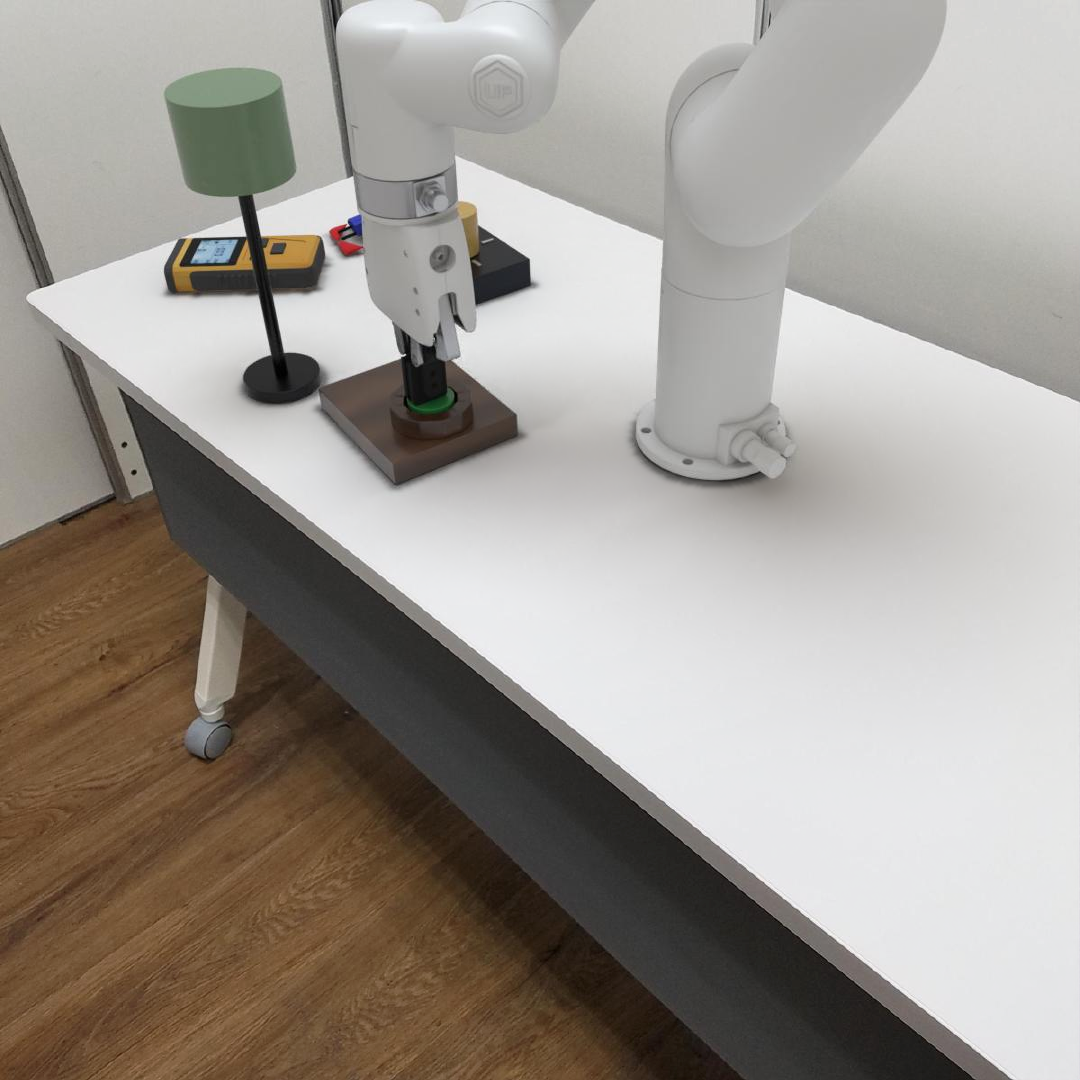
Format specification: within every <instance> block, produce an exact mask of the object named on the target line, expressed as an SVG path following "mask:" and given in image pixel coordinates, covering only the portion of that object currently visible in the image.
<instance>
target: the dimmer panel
mask: <svg viewBox="0 0 1080 1080" xmlns="http://www.w3.org/2000/svg"><path fill="white" fill-rule="evenodd" d="M478 234H479V252H478V254H477V255H475V256H474V257H471V258H470V264H471V271H472V279H473V287H474V296H475V305H478V304H480V303H485V302H486V301H489V300H493V299H496V298H498V297H501V296H504V295H507V294H510V293H513V292H516V291H519V290H522V289H524V288H527V287H530V286H532V284H531V283H532V280H531V275H532V274H531V259H530V257H528V256H526V255H524V254H523V253H522V252H520V251H518V250H517V249H516V248H513V246H511V245H509V244H508V243H506V242H505V241H504V240H502V239H500V238H498V237H497V236H495V235H494V234H492V233H491V232H490V231H488V230H486V229H485V228H483V227H482V226H481V225H479V224H478Z"/></svg>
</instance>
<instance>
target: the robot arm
mask: <svg viewBox="0 0 1080 1080" xmlns="http://www.w3.org/2000/svg"><path fill="white" fill-rule="evenodd" d="M595 2H596V0H467V1H466V3H465V4H464V7H463V9H462V12H461V14H460V16H459V19H457V20H454V21H449V22H447V21H446V22H445V20H444V18H443V16H442V14H441V13H440V12H439V11H438V10H437V9H436V8H435V7H433V6H432V4H429V3H427V2H424V1H420V0H368V1H365V2H360V3H358V4H356V5H353V6H351V7H349V8H347V9H346V10H345V11H344V12H343V13H342V14H341V15H340V17H339V19H338V21H337V22H336V27H335V44H336V52H337V53H336V54H337V60H338V61H337V62H338V68H339V76H340V77H339V78H340V84H341V92H342V101H343V109H344V114H345V122H346V130H347V139H348V145H349V146H348V147H349V154H350V160H351V161H350V162H351V170H352V177H353V178H352V179H353V185H354V194H355V200H356V209H357V212H358V215H359V214H360V215H361V216H362V236H361V238H362V237H363V239H362V246H363V248H362V249H363V250H362V251H363V260H364V271H365V278H366V282H367V288H368V293H369V296H370V299H371V301H372V303H373V304H374V306H375V307H376V308H377V309H378V310H379V311H380V312H381V313H382V314H383V315H385V316H386V317H387V318H388V319H389V320H390V321H391V324H392V326H393V331H394V336H395V337H394V338H395V341H396V347H397V349H398V352H399V353H400V355H402V356H400V359H401V363H402V372H403V381H404V390H405V396H406V397H407V398H408V399H409V400H411V401H412V403H414V404H415V405H416V406H418V405H421V404H424V403H426V402H429V401H432V400H434V399H437V398H440V397H442V396H445V395H446V394H447V379H446V367H445V362H448V361H451V360H452V361H454V360H457V359H459V358H461V350H460V349H461V348H460V344H459V339H458V334H457V330H456V326H458V327H459V328H460V329H462V330H463V332H465V333H467V334H468V333H473V332H475V331H476V328H477V319H478V318H477V307H476V304H475V296H474V287H473V279H472V271H471V264H470V258H469V252H468V246H467V242H466V237H465V232H464V228H463V224H462V221H461V217H460V213H459V212H458V211H457V210H456V208H457V206H458V201H459V192H458V191H459V190H458V178H457V176H458V175H457V163H456V161H457V160H456V147H455V133H454V128H458V129H459V128H460V129H464V130H469V131H475V132H478V133H479V132H480V133H485V134H493V135H495V134H497V135H508V134H516V133H520V132H523V131H527V130H528V129H530V128H532V127H534V126H535V125H537V124H538V123H540V121H542V120H543V118H544V117H546V115H547V114H548V112H549V111H550V109H551V108H552V106H553V103H554V101H555V98H556V95H557V91H558V87H559V76H560V66H561V65H560V63H561V51H562V49H563V48H564V46H565V44H566V43H567V42H568V40H569V38H570V37H571V36H572V34H573V32H574V31H575V29H576V28H577V27H578V25H579V24H580V22H581V21H582V20H583V18H584V17H585V15H586V14H587V13H588V12H589V10H590V9H591V7H592V6H593V4H594V3H595ZM768 7H769V13H770V16H771V20H772V22H771V23H770V25H769V26H768V28H767V29H766V31H765V32H764V33H763V35H762V36H761V38H760V39H759V41H758V42H757V43H756V44H752V43H746V42H732V43H726V44H721V45H717V46H716V47H715V46H714V47H712V48H710V49H709V50H706V51H704V52H703V53H701V54H700V55H699V56H698V57H696V58H695V59H694V60H693V61H692V62H691V63H689V65H688V66H687V67H686V68H685V69H684V70H683V72H682V73H681V75H680V76H679V78H678V79H677V81H676V83H675V85H674V88H673V89H672V91H671V95H670V96H669V100H668V106H667V109H666V114H665V123H664V196H663V197H664V199H663V200H664V201H663V203H664V204H663V206H664V207H663V230H662V231H663V233H662V234H663V236H662V239H663V240H662V257H661V258H662V259H661V269H660V270H661V271H660V287H659V289H660V291H659V312H658V335H657V353H656V354H657V355H656V376H655V377H656V379H655V398H654V399H653V400H650V402H648V403H647V404H646V405H645V406H644V407H643V408H642V409H641V410H640V412H639V414H638V416H637V418H636V423H635V440H636V442H637V445H638V447H639V449H640V451H642V453H643V455H645V456H646V457H647V458H648V459H649V460H650V461H651V462H652V463H654V464H656V465H657V466H659V467H660V468H661V469H664V470H666V471H669V472H670V473H673V474H676V475H680V476H683V477H686V478H692V479H695V480H696V479H697V480H706V481H707V480H708V481H724V480H726V481H727V480H735V479H739V478H745V477H748V476H750V475H753V474H757V473H759V472H760V473H762V474H764V475H765V476H766V477H768V478H769V479H772V480H774V479H776V478H778V477H779V476H781V474H782V473H784V470H785V469H786V466H787V459H786V458H790V457H791V456H793V454H794V453H795V452H796V450H797V443H796V442H795V441H793V440H792V439H790V438H789V437H787V436H786V435H787V430H786V424H785V423H784V420H783V418H782V417H781V415H780V407H778V406H777V405H776V404H774V403H773V402H772V396H773V395H772V394H773V387H774V379H775V370H776V363H777V355H778V347H779V339H780V331H781V324H782V323H781V322H782V316H783V315H782V314H783V309H784V308H783V307H784V300H785V299H784V298H785V292H786V290H785V289H786V282H787V278H788V273H789V266H790V265H789V264H790V256H791V249H792V236H793V230H794V229H795V228H796V227H798V226H800V224H801V223H803V222H804V221H805V220H806V219H807V218H808V217H809V216H810V215H812V213H813V212H814V211H815V210H816V209H817V208H818V206H819V205H821V203H822V202H823V201H824V200H825V199H826V197H828V195H829V194H830V193H831V192H832V191H833V189H834V188H835V187H836V186H837V184H838V183H839V182H840V181H842V178H843V177H845V175H846V174H847V172H849V170H850V169H851V168H852V167H853V165H854V164H855V163H856V161H857V160H859V158H860V157H861V155H863V153H864V152H865V151H866V150H867V148H868V147H870V145H871V143H872V142H873V141H874V140H875V139H876V138H877V136H878V135H880V133H881V132H882V130H884V127H886V125H887V124H888V123H889V122H890V120H891V119H892V118H893V117H894V115H895V114H896V113H897V112H898V110H900V108H901V107H902V106H903V105H904V103H905V102H906V101H907V99H908V98H909V97H910V95H911V94H912V93H913V92H914V90H915V89H916V87H917V86H918V85H919V83H920V82H921V80H922V79H923V77H924V76H925V74H926V72H927V71H928V69H929V67H930V64H931V63H932V61H933V59H934V57H935V55H936V53H937V51H938V48H939V46H940V43H941V40H942V36H943V34H944V30H945V27H946V26H945V24H946V20H947V10H948V0H768Z"/></svg>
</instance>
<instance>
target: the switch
mask: <svg viewBox="0 0 1080 1080" xmlns="http://www.w3.org/2000/svg"><path fill="white" fill-rule="evenodd" d="M407 405H408V409H409V410H410V411H412V412H416V413H420V414H438V413H441V412H443V411H446V410H448V409H451V408H452V407H453V406H454V405H455V397H454V392H453V391H452V390H451V389H450V388H449V387H447V394H446V395H445V396H442V397H440V398H437V399H434V400H432V401H429V402H426V403H424V404H421V405H418V406H416V405H415V404H414V403H412V401H411V400H409V399H408V398H407Z"/></svg>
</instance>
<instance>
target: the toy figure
mask: <svg viewBox="0 0 1080 1080" xmlns="http://www.w3.org/2000/svg"><path fill="white" fill-rule="evenodd" d="M349 230H351V231H352V232H350V233H347V234H346V235H343V233H345V232H347V231H349ZM328 233H329V235H330V236H331V238H332V240H334V241H336V242H337V241H338V242H337V244H338V247H339V249H340V250H341V252H342V253H343V254H344V255H345V256H348V255H353V254H355V253H356V252H358V251H360V250H362V249H363V245H358V244H355V243H351V242H348V241H346V240H347V239H348V240H349V239H351V238H353V237H355V236H357V237H358V238H360V237H361V239H362V240H363V237H362V216H361V215H360V214H359V213H358V214H357V215H355V216H352V217H350V218H348V219H347V223H344V224H341V225H337V226H334V227H332V228H331V229H330V230H328ZM342 235H343V236H342Z"/></svg>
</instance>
